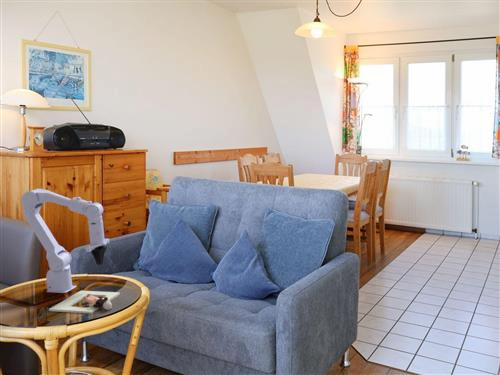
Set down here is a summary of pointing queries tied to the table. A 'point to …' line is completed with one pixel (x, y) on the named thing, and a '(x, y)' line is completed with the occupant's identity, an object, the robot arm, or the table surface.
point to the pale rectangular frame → (67, 304)
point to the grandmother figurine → (97, 302)
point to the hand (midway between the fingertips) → (99, 264)
